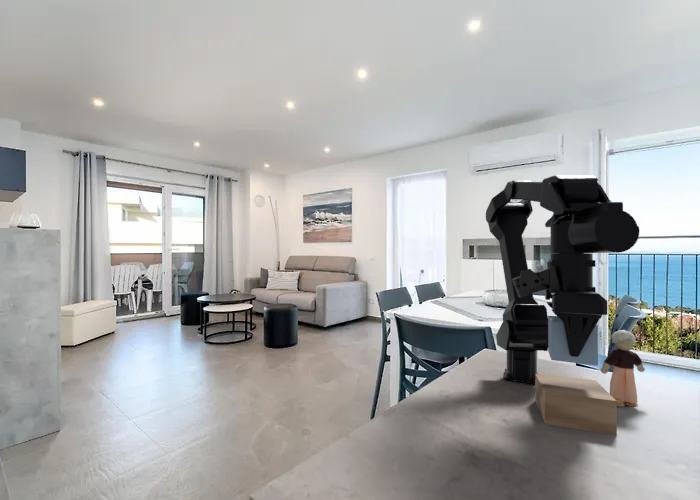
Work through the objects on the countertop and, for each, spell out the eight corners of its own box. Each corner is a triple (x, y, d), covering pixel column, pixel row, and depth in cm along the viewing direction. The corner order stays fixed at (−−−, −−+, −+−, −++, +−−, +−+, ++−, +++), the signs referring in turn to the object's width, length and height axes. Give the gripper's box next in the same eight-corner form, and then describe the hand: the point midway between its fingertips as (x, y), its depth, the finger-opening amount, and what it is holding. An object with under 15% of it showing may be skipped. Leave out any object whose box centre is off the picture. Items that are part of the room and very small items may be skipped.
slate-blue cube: (548, 350, 59) (548, 315, 60) (590, 355, 57) (590, 318, 57) (551, 360, 54) (551, 321, 54) (598, 365, 51) (597, 325, 51)
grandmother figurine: (619, 410, 57) (618, 333, 58) (597, 401, 61) (596, 328, 61) (653, 405, 59) (652, 331, 60) (629, 396, 63) (629, 326, 63)
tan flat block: (535, 402, 61) (535, 373, 61) (595, 410, 58) (595, 380, 58) (545, 425, 52) (545, 392, 52) (616, 436, 49) (616, 401, 49)
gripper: (515, 253, 68) (515, 334, 67) (515, 252, 51) (514, 359, 51) (583, 254, 63) (583, 341, 62) (608, 252, 46) (608, 371, 46)
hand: (571, 351), depth 55 cm, fingers closed on slate-blue cube, 6 cm apart
